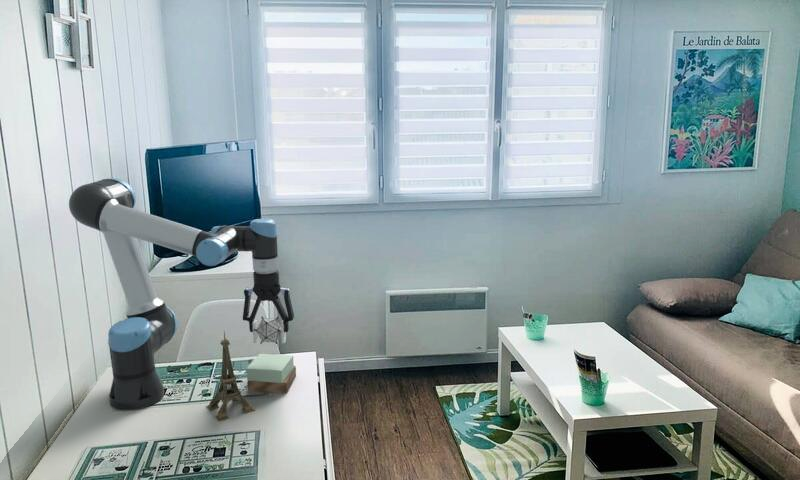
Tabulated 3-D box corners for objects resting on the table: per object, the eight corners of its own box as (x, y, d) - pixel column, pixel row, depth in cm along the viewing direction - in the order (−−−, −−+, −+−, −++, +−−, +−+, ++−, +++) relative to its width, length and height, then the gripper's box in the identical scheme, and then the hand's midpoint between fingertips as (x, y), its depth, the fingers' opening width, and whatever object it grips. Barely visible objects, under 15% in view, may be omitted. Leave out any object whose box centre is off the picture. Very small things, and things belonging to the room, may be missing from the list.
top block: (247, 380, 197) (246, 368, 196) (260, 365, 208) (259, 353, 207) (282, 382, 195) (281, 370, 194) (293, 367, 206) (293, 355, 205)
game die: (275, 351, 203) (293, 324, 204) (268, 352, 195) (287, 324, 195) (252, 336, 204) (270, 308, 205) (244, 336, 196) (262, 308, 197)
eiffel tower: (241, 396, 195) (235, 317, 189) (254, 410, 186) (249, 328, 180) (206, 406, 189) (199, 325, 183) (218, 421, 180) (211, 336, 175)
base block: (248, 394, 197) (247, 381, 196) (259, 376, 209) (258, 365, 208) (287, 394, 196) (286, 382, 195) (296, 377, 208) (295, 365, 207)
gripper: (227, 273, 192) (232, 346, 197) (298, 274, 191) (301, 346, 197) (235, 266, 200) (239, 336, 205) (302, 267, 199) (305, 337, 204)
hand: (269, 341), depth 201 cm, fingers closed on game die, 8 cm apart
